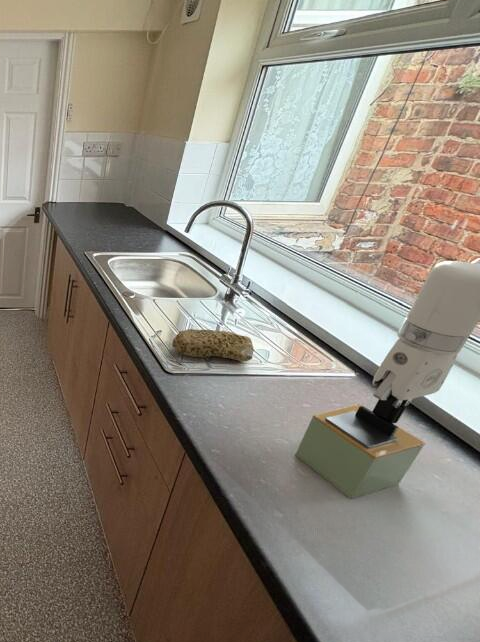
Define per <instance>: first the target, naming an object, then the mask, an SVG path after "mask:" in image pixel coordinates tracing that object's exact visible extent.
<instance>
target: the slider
mask: <svg viewBox="0 0 480 642" xmlns="http://www.w3.org/2000/svg"><path fill="white" fill-rule="evenodd" d="M372 411H373V410H371V409H369V408H367V407H365V406H364V405H362V406H360V407H359V409H358V411H357V413H356V412H355V411H352V412H348V413H344V414H340V415H336V416H332V417H328V418H325V420H326V421H327V422H329V423H330V424H332V425H333V426H335V427H336V428H338V429H339V430H341V431H342V432H343V433H345V434H346V435H348V436H349V437H351V438H352V439H354V440H355V441H357V442H358V443H360V444H361V445H363V446H364V447H366V448H367V449H369V448H373V447H376V446H380V445H383V444H387V443H391V442H394V441H398V439H399V438H397V437H395V436H394V434H395V432H396V431H397V429H398V427H399V426H398V425H395V423H393V424H392V423H391V422H389V421H387V420H386V419H384V418H382V417H381V416H379V415H377V414H376V413H374V412H372Z"/></svg>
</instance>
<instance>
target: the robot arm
mask: <svg viewBox="0 0 480 642" xmlns="http://www.w3.org/2000/svg"><path fill="white" fill-rule="evenodd" d="M479 322H480V257H478V258H476V259H475V260H472V261H471V262H467V261H459V260H447V261H441V262H439V263H437V264H435V265H434V266H433V267H432V268H431V270H430V271H429V273H428V275H427V277H426V279H425V281H424V283H423V285H422V287H421V289H419V292H418V294H417V296H416V298H415V300H414V302H413V303H412V305H411V308H410V309H409V311H408V313H407V315H406V317H405V318H404V320H403V322H402V324H401V326H400V328H399V329H398V331H397V337H398V339H397V340H396V341H395V343H394V344H393V345H392V347H391V348H390V350H389V351H388V353H387V354H386V356H385V357H384V358H383V360H382V362H381V363H380V365H379V367H378V369H377V370H376V372H375V375H374V377H373V379H372V386H373V387H376V390H375V391H374V393H373V394H372V396H373V397H375V398H376V399H378V400H377V402H376V404H375V406H374V407H373V409H372V410H371V411H372V412H374V413H376V414H377V415H379V416H381V417H382V418H384V419H386V420H387V421H389V422H391V423H392V424H397V423H398V422H399V420H400V419H401V417H402V415H403V414H404V412H405V411H406V409H407V407H406V406H409V405H410V404H411V403H412V401H413V400H414V399H417V398H421V397H425V396H429V395H433V394H435V393H437V392H439V391H440V389H441V388H442V386H443V385H444V383H445V381H446V379H447V377H448V375H449V374H450V372H451V370H452V368H453V366H454V364H455V362H456V360H457V357H458V355H459V353H460V352H461V351H462V350H463V348H464V346H465V344H466V342H467V341H468V339H469V338H470V336H471V335H472V333H473V331H474V330H475V328H476V327H477V326H478V324H479Z"/></svg>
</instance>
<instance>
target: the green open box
mask: <svg viewBox="0 0 480 642" xmlns="http://www.w3.org/2000/svg"><path fill="white" fill-rule="evenodd" d="M360 406H363V404H360V403H358V404H354V405H353V404H352V405H349V406H346V407H341V408H337V409H333V410H328V411H325V412H320V413H317V414H313V415H312V417H311V419H310V422H309V424H308V426H307V428H306V430H305V432H304V434H303V437H302V439H301V441H300V443H299V445H298V447H297V449H296V451H295V456H296V457H297V458H299V459H300V460H301V461H302V462H304V463H305V464H306V465H308V466H309V467H310V468H312V470H314V471H315V472H317V473H318V474H319V475H320V476H321V477H322V478H324V479H326V481H328V482H329V483H330V484H332V486H334V487H336V489H337V490H339V491H340V492H342V493H343V494H345V496H347V497H348V498H349V499H351V500H352V499H355V498H358V497H361V496H365V495H368V494H372V493H376V492H378V491H381V490H384V489H388V488H390V487H394V486H398V485H399V484H400V483H401V481H402V480H403V479H404V477H405V475H406V474H407V472H408V471H409V470H410V468H411V466H412V464H414V461H415V460H416V459H417V457H418V455H419V454H420V452H421V451H422V449H423V448H424V446H425V445H426V442H425V441H423V440H421V439H419V438H418V437H416V436H414V435H412V434H411V433H409V432H408V431H405V430H404V429H403V428H401V427H400V426H397V427H398V429H397V431H396V432H395V434H394V436H395V437H397V438H399V439H398V441H394V442H391V443H387V444H383V445H380V446H376V447H373V448H369V449H367V448H366V447H364V446H363V445H361V444H360V443H358V442H357V441H355V440H354V439H352V438H351V437H349V436H348V435H346V434H345V433H343V432H342V431H341V430H339V429H338V428H336V427H335V426H333V425H332V424H330V423H329V422H327V421H326V420H325V418H328V417H332V416H336V415H340V414H344V413H348V412H352V411H355V412H356V413H357V411H358V409H359V407H360Z"/></svg>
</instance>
